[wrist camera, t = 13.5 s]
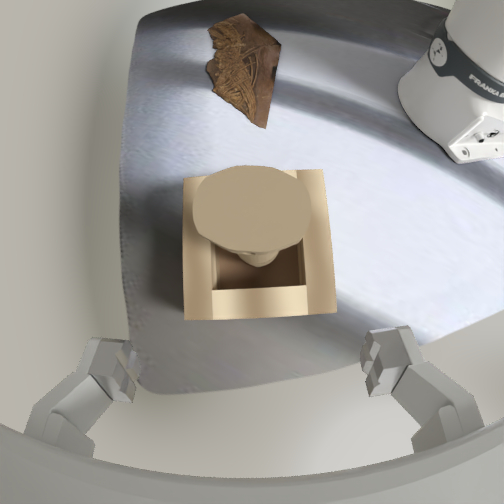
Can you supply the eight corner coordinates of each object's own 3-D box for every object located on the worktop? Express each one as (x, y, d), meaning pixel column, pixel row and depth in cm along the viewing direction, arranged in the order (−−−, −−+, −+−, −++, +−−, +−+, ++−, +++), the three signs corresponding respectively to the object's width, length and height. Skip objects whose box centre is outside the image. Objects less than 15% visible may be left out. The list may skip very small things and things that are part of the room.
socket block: (313, 190, 32) (322, 169, 27) (324, 311, 30) (336, 312, 25) (196, 197, 33) (183, 178, 27) (198, 317, 31) (184, 320, 25)
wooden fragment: (208, 19, 39) (207, 15, 38) (272, 14, 39) (272, 9, 38) (207, 135, 35) (206, 130, 34) (297, 127, 34) (298, 123, 33)
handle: (229, 226, 31) (198, 164, 17) (291, 230, 31) (311, 169, 16) (225, 273, 31) (187, 247, 16) (289, 277, 30) (310, 254, 15)
